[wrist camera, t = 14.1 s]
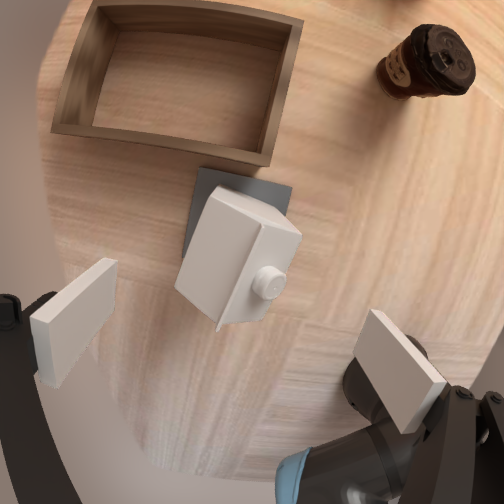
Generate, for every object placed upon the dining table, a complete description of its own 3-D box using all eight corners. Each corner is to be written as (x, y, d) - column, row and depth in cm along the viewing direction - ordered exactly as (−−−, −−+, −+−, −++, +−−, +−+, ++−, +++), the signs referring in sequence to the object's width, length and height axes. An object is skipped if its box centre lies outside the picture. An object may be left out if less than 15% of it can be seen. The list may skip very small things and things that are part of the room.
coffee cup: (365, 98, 33) (421, 75, 21) (366, 43, 31) (415, 5, 19) (420, 114, 34) (483, 103, 22) (420, 61, 32) (477, 37, 19)
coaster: (269, 273, 39) (270, 275, 38) (182, 255, 37) (181, 257, 37) (291, 186, 36) (292, 187, 35) (199, 166, 35) (199, 166, 34)
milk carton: (196, 238, 36) (162, 312, 18) (218, 183, 35) (203, 202, 16) (251, 260, 37) (268, 350, 19) (275, 206, 36) (319, 251, 17)
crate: (261, 166, 35) (269, 167, 27) (82, 136, 32) (50, 132, 25) (290, 47, 31) (304, 20, 23) (115, 24, 28) (93, -1, 21)
